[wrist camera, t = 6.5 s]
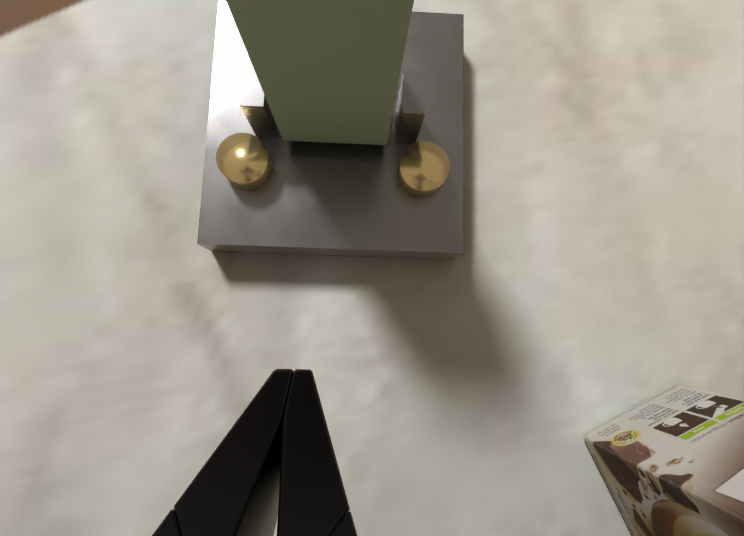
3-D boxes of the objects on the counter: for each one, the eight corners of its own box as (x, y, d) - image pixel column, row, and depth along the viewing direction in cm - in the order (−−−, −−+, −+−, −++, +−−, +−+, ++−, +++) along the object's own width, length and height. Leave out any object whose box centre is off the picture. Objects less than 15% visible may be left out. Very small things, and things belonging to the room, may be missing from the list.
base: (454, 259, 23) (483, 240, 18) (211, 250, 22) (168, 228, 17) (454, 39, 25) (481, -37, 19) (229, 27, 24) (195, -54, 19)
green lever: (390, 150, 21) (448, -126, 8) (281, 145, 21) (155, -147, 8) (391, 93, 21) (449, -262, 8) (284, 88, 21) (169, -283, 8)
